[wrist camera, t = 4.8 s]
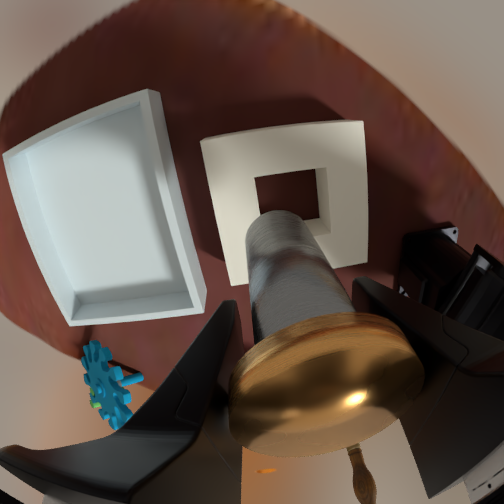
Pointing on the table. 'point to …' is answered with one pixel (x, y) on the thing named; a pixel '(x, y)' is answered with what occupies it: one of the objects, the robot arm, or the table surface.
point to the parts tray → (108, 214)
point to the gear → (107, 384)
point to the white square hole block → (288, 160)
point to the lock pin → (312, 353)
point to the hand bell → (361, 477)
